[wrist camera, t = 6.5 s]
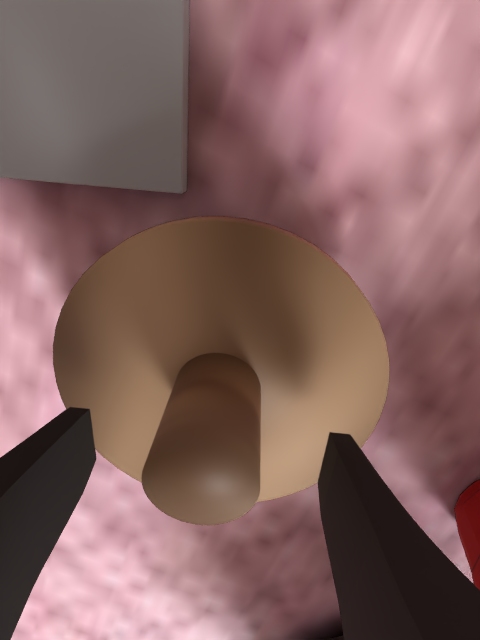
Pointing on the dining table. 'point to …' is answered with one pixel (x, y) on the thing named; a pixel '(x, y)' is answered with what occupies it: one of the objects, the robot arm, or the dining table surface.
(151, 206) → the dining table surface
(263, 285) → the lid
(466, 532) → the plastic cup
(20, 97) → the mat
